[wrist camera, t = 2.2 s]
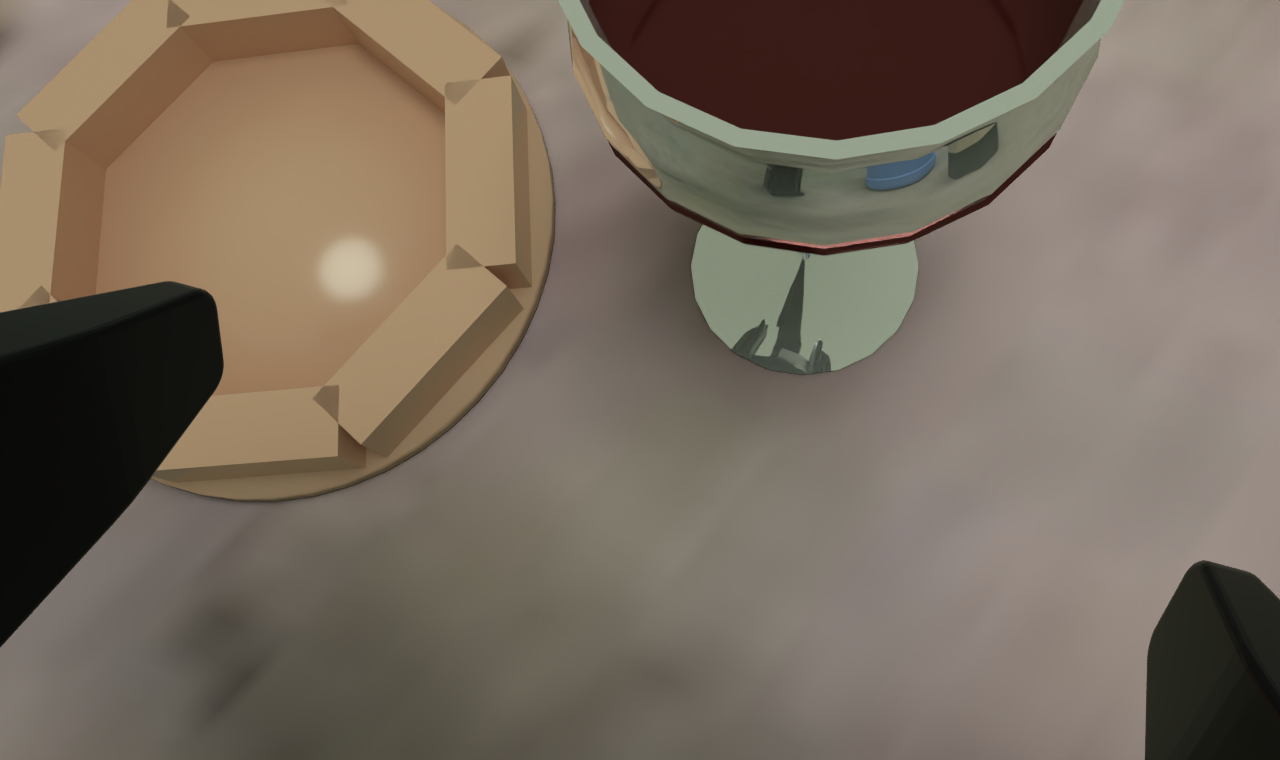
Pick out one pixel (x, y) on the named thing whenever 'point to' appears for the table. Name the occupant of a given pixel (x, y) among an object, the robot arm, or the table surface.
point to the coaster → (294, 220)
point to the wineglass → (826, 142)
